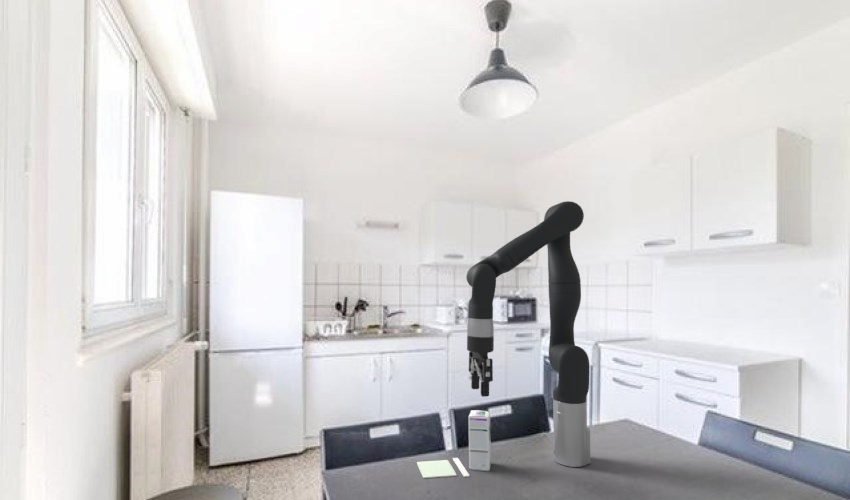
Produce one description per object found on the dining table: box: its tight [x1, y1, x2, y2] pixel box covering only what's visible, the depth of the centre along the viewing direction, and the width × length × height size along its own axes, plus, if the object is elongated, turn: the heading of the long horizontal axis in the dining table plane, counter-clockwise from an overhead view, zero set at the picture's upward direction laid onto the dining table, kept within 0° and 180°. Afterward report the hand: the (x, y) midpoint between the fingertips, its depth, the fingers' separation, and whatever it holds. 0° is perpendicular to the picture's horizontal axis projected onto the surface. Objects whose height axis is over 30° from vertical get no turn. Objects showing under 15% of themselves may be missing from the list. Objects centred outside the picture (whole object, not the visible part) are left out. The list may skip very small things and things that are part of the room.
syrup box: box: [468, 409, 492, 472], centre depth 122 cm, size 6×6×14 cm
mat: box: [416, 459, 457, 479], centre depth 119 cm, size 9×10×1 cm
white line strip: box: [452, 457, 470, 478], centre depth 121 cm, size 2×12×1 cm, turn 11°
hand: (479, 392), depth 123 cm, fingers open, 8 cm apart
